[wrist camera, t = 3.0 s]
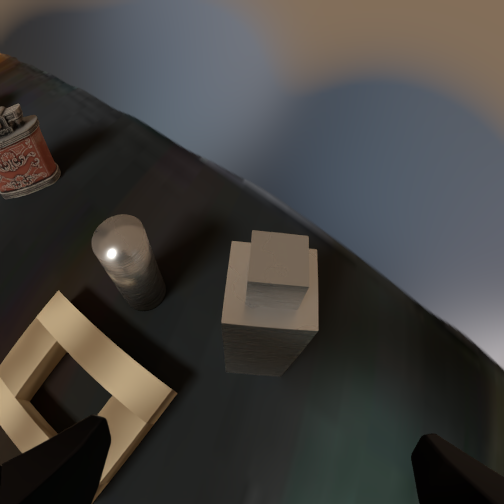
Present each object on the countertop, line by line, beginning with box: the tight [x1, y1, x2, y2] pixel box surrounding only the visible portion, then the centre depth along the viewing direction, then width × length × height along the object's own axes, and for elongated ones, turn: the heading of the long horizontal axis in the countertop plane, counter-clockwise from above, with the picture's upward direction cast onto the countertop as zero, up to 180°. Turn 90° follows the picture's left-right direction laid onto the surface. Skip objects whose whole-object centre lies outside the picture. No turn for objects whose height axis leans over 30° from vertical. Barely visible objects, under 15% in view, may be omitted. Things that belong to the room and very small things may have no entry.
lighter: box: [0, 104, 61, 199], centre depth 24 cm, size 8×3×10 cm, turn 105°
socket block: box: [0, 291, 177, 503], centre depth 17 cm, size 11×11×2 cm
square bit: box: [221, 230, 318, 377], centre depth 16 cm, size 4×4×12 cm
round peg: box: [92, 215, 166, 311], centre depth 20 cm, size 3×3×7 cm
